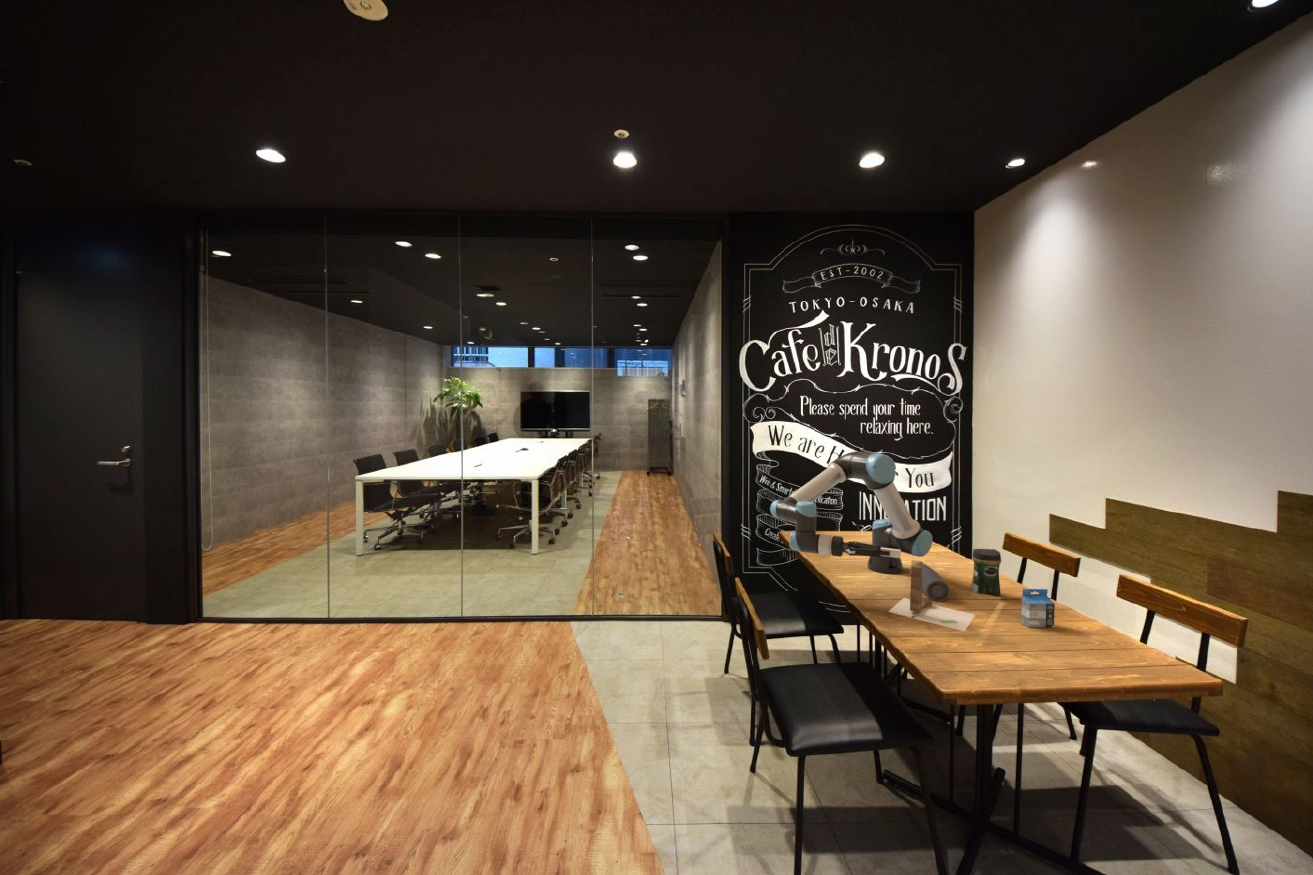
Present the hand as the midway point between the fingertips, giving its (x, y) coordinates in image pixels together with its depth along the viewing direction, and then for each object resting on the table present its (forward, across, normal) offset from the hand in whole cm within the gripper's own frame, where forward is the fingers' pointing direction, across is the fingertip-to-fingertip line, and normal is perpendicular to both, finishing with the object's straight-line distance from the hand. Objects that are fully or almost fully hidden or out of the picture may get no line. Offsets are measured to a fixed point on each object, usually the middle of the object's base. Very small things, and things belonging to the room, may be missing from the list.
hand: (900, 554), depth 184 cm
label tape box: (+43, -13, -23) cm, 50 cm away
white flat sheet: (+11, -4, -23) cm, 25 cm away
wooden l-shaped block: (+7, -5, -21) cm, 23 cm away
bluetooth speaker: (+10, -29, -23) cm, 38 cm away
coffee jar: (+31, -39, -22) cm, 54 cm away
